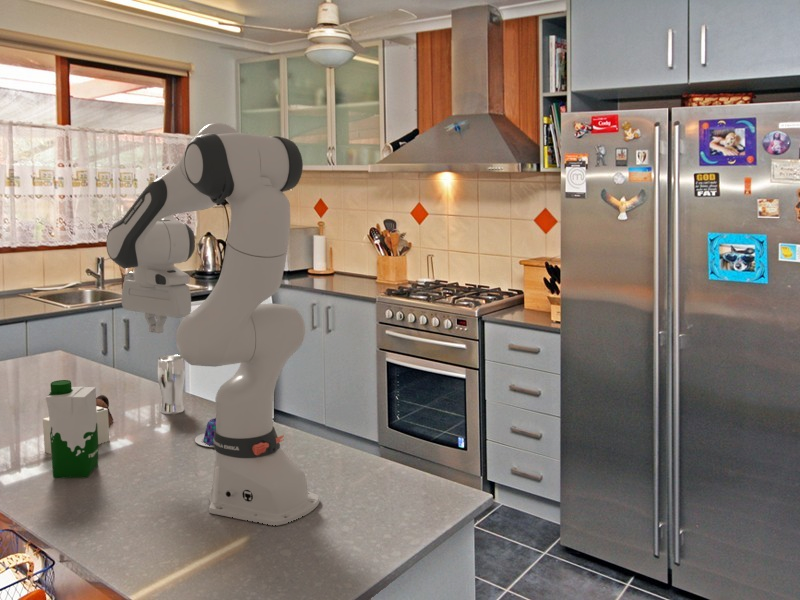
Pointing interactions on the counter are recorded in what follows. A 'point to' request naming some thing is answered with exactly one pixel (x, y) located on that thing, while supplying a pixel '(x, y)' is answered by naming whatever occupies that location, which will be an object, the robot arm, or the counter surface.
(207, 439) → the pudding
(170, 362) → the beer glass
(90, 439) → the soya milk
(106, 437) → the block
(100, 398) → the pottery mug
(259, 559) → the counter surface
